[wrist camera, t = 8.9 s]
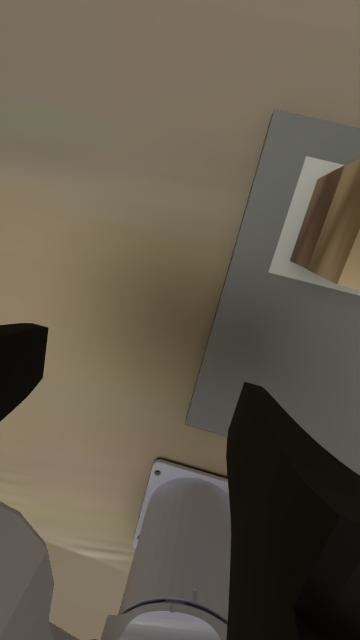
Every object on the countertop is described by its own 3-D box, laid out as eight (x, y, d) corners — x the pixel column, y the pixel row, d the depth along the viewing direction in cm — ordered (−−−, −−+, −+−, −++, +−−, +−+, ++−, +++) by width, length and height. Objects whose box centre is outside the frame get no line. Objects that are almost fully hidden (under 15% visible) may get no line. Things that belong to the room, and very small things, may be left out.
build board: (389, 475, 22) (396, 485, 22) (186, 418, 23) (184, 425, 22) (553, 178, 16) (571, 175, 16) (272, 114, 17) (274, 108, 16)
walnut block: (366, 279, 18) (404, 293, 14) (289, 260, 18) (307, 269, 15) (400, 198, 17) (453, 190, 13) (317, 179, 17) (344, 165, 13)
